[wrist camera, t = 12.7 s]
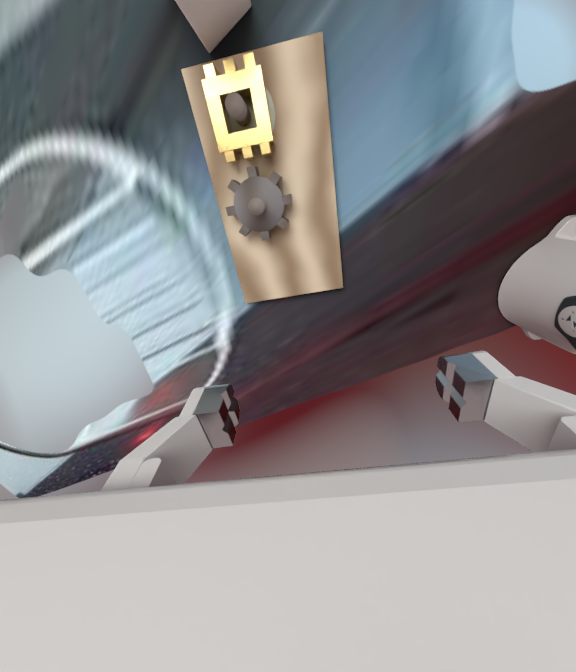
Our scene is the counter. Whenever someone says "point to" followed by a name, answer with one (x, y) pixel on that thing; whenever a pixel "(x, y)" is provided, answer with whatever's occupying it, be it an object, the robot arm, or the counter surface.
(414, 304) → the counter surface
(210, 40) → the milk
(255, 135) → the toothed rectangular frame
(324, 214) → the gear board
